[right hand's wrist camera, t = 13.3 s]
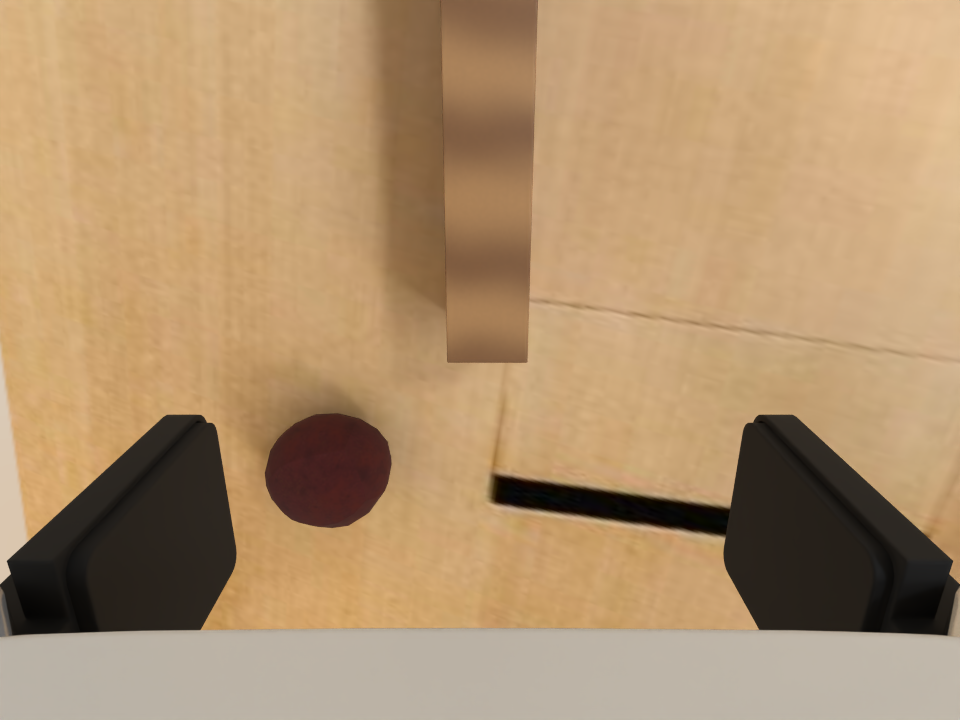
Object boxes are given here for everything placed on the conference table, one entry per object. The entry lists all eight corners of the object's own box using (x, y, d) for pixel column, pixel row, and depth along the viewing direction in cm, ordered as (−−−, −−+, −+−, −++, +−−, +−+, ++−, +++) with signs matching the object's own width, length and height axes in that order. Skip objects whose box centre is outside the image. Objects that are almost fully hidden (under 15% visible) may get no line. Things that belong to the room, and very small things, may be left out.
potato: (267, 416, 42) (227, 469, 36) (372, 379, 41) (352, 427, 35) (314, 503, 45) (286, 569, 38) (415, 470, 44) (403, 531, 37)
